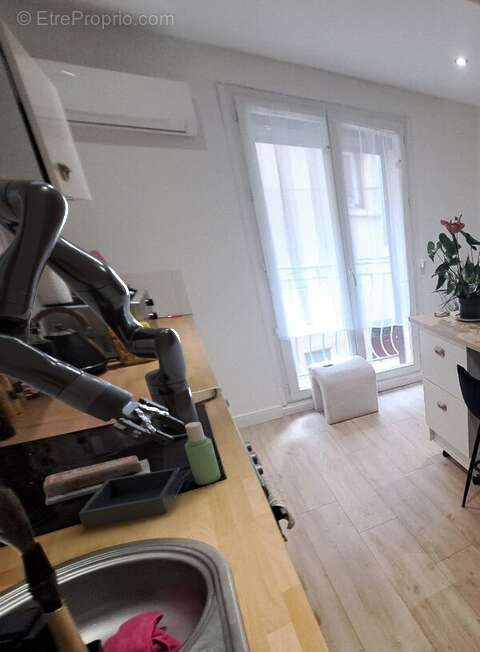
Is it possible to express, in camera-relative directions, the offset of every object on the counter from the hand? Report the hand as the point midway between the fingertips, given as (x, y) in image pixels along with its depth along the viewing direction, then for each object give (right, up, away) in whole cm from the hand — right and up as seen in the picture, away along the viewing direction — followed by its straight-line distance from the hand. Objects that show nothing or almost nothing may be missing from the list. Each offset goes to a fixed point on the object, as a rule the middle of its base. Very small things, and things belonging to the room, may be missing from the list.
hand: (176, 434), depth 98 cm
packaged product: (-22, -13, +3) cm, 25 cm away
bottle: (+3, -13, +6) cm, 14 cm away
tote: (-5, -16, -4) cm, 17 cm away
